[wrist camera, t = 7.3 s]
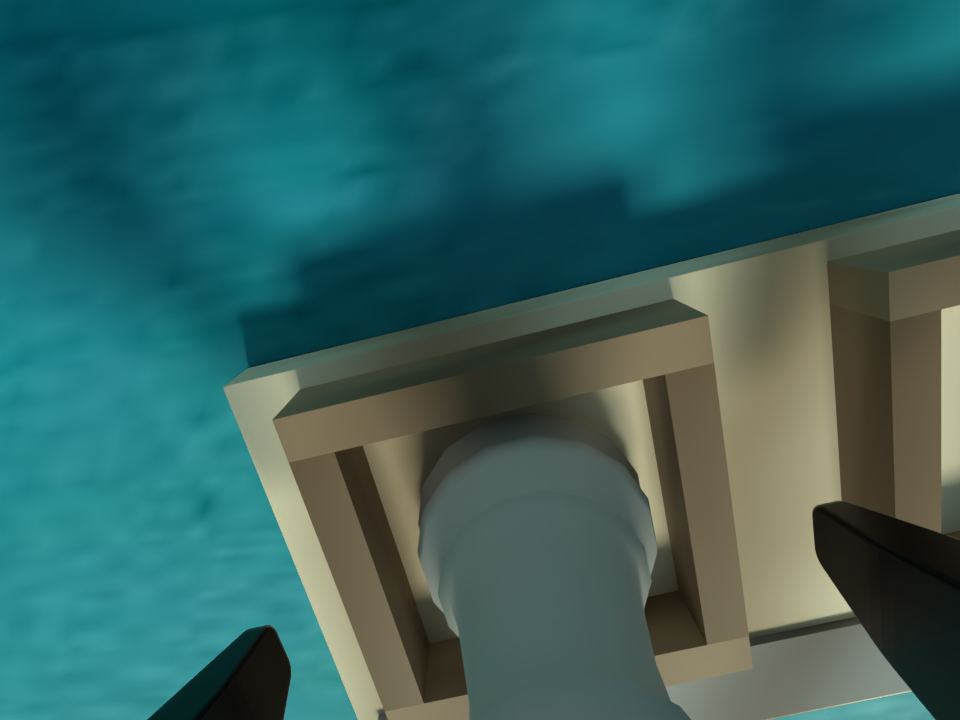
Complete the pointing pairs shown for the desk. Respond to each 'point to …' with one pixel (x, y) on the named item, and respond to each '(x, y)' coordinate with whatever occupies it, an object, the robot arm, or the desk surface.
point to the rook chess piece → (544, 572)
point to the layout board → (645, 454)
